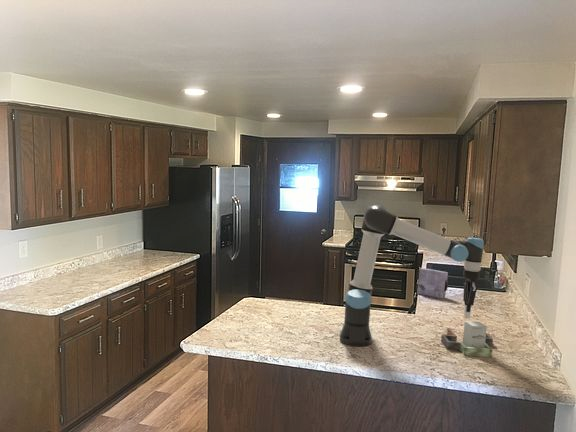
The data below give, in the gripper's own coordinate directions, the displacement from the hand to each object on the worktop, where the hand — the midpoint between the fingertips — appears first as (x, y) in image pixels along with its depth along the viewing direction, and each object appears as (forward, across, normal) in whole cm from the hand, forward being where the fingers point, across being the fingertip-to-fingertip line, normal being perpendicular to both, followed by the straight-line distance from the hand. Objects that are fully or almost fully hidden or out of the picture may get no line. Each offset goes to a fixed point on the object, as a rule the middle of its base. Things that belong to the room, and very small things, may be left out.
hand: (466, 317), depth 232 cm
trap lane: (+12, -4, -1) cm, 13 cm away
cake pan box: (+13, +91, -7) cm, 92 cm away
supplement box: (+13, -9, -2) cm, 16 cm away
